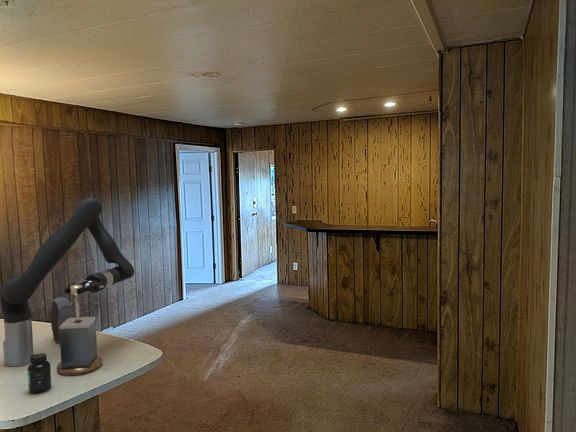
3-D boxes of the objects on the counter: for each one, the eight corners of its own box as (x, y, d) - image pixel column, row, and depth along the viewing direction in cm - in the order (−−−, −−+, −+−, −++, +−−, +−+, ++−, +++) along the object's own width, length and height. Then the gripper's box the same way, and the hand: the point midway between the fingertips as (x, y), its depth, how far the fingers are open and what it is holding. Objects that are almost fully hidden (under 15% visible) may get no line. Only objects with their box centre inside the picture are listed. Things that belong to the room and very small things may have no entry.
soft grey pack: (50, 338, 201) (48, 295, 199) (70, 333, 206) (68, 291, 204) (60, 347, 189) (57, 301, 188) (80, 342, 195) (78, 298, 193)
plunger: (66, 347, 165) (63, 288, 163) (72, 340, 171) (69, 284, 169) (85, 346, 166) (82, 287, 164) (90, 339, 172) (88, 283, 170)
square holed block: (50, 377, 160) (47, 329, 159) (65, 359, 176) (62, 316, 174) (96, 374, 163) (94, 327, 161) (107, 357, 178) (105, 313, 177)
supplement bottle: (26, 395, 147) (24, 360, 146) (31, 386, 154) (29, 353, 153) (48, 392, 149) (47, 358, 148) (53, 383, 156) (51, 350, 155)
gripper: (83, 271, 182) (54, 281, 165) (114, 272, 179) (88, 282, 162) (84, 289, 182) (55, 300, 166) (115, 290, 180) (89, 302, 163)
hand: (71, 291), depth 164 cm, fingers closed on plunger, 4 cm apart
